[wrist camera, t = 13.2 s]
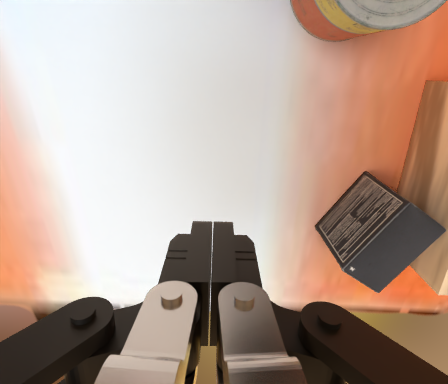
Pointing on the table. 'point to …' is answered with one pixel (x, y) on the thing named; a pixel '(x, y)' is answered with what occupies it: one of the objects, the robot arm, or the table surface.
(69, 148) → the table surface
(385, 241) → the small box
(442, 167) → the maple board
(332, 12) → the canned food
